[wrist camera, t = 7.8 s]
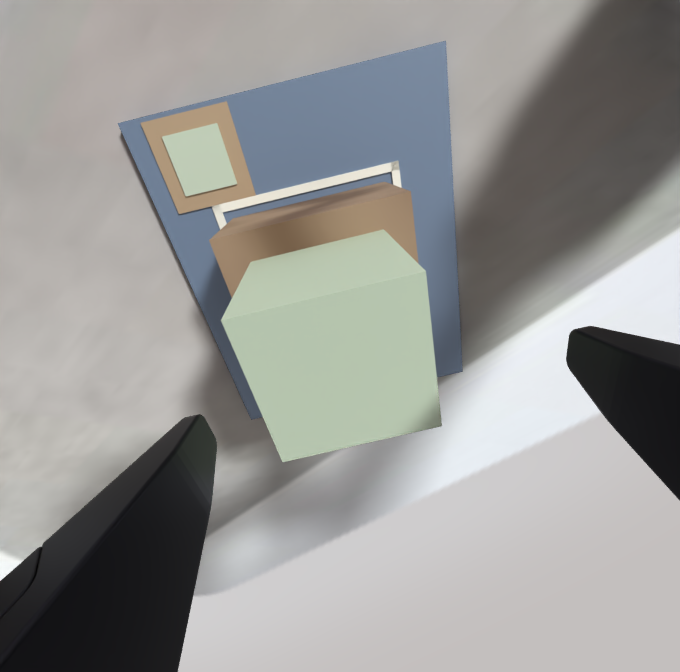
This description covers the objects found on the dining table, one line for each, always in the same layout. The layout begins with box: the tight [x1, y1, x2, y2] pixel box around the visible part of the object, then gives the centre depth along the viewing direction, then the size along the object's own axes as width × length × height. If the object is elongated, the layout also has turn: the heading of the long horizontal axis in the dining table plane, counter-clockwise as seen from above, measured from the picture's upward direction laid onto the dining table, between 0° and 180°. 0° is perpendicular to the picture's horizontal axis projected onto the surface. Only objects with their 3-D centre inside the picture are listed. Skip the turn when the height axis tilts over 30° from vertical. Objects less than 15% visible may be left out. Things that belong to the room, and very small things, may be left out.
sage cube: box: [221, 229, 442, 462], centre depth 13 cm, size 6×6×6 cm
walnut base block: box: [209, 182, 419, 297], centre depth 17 cm, size 8×8×5 cm
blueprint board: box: [118, 41, 463, 420], centre depth 20 cm, size 15×18×1 cm
